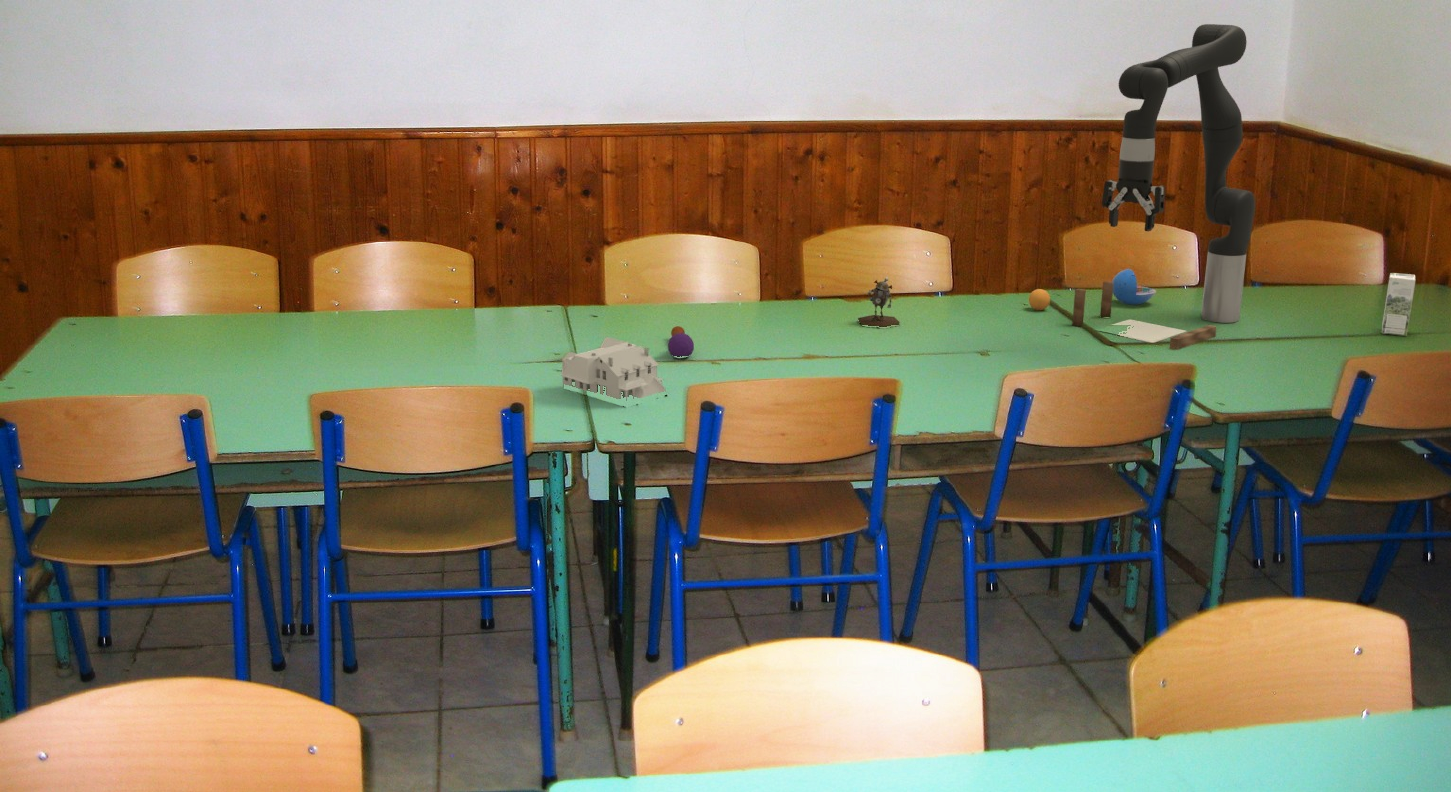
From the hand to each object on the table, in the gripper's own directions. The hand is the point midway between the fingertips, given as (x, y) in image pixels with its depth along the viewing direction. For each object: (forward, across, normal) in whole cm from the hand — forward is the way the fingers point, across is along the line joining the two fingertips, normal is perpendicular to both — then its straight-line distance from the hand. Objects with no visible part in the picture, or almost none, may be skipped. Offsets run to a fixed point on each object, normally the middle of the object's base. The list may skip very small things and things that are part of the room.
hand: (1130, 228), depth 319 cm
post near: (+29, +18, -13) cm, 36 cm away
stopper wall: (+29, -10, -17) cm, 35 cm away
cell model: (+29, +20, -43) cm, 56 cm away
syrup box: (+29, -42, -60) cm, 79 cm away
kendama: (+29, +74, +72) cm, 108 cm away
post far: (+29, +18, -25) cm, 42 cm away
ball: (+26, +34, -20) cm, 47 cm away
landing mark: (+29, +4, -18) cm, 34 cm away
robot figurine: (+29, +56, +20) cm, 66 cm away
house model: (+28, +60, +104) cm, 124 cm away
